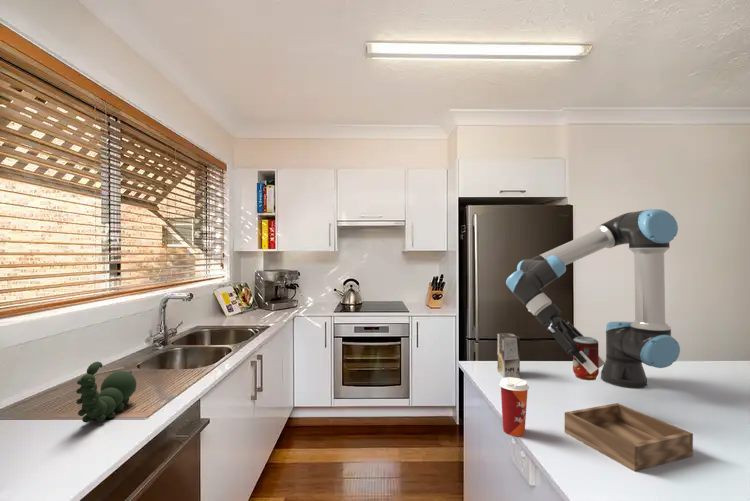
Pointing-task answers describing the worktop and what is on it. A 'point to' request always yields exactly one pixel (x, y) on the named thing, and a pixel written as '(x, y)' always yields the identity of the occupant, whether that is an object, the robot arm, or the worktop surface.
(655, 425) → the walnut box
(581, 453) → the worktop surface
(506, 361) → the coffee box
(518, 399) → the paper cup
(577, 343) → the soda can
